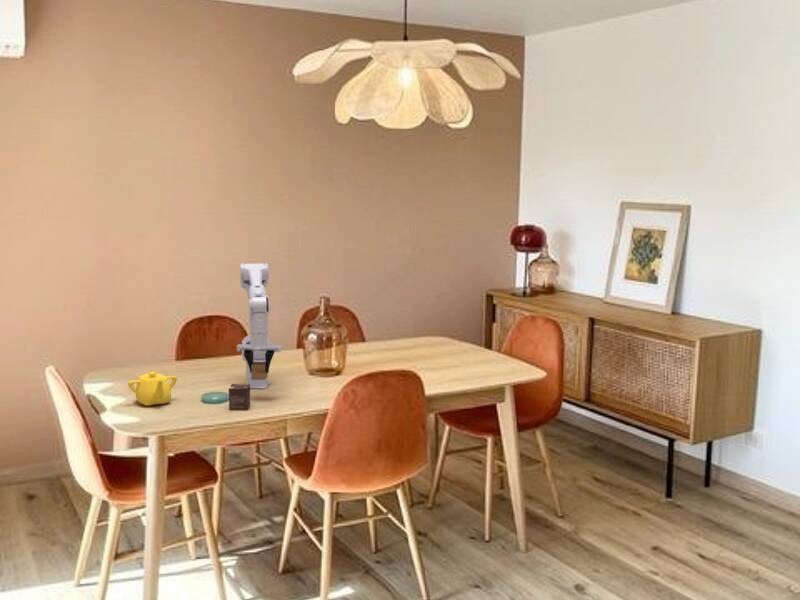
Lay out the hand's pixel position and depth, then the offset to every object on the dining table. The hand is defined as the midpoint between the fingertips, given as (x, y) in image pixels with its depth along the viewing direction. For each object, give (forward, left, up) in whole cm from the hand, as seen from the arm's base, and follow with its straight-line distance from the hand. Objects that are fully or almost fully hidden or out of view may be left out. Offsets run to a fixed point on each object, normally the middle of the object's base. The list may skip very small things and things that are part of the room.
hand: (259, 372), depth 274 cm
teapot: (+7, -33, -10) cm, 36 cm away
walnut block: (0, 0, -2) cm, 2 cm away
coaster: (+2, -14, -10) cm, 18 cm away
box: (+10, -4, -10) cm, 15 cm away
